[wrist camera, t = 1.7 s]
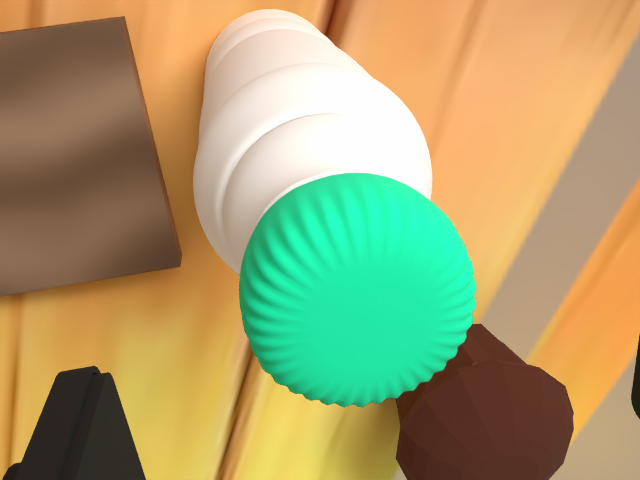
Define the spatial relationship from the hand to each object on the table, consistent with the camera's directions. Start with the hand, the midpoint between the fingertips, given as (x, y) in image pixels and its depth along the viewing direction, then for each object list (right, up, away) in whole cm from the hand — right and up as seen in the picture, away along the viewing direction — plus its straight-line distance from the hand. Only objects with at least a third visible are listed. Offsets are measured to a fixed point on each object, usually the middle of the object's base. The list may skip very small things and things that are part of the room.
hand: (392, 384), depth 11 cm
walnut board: (-20, +6, +23) cm, 31 cm away
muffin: (+8, -7, +34) cm, 36 cm away
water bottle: (-4, +12, +23) cm, 26 cm away
